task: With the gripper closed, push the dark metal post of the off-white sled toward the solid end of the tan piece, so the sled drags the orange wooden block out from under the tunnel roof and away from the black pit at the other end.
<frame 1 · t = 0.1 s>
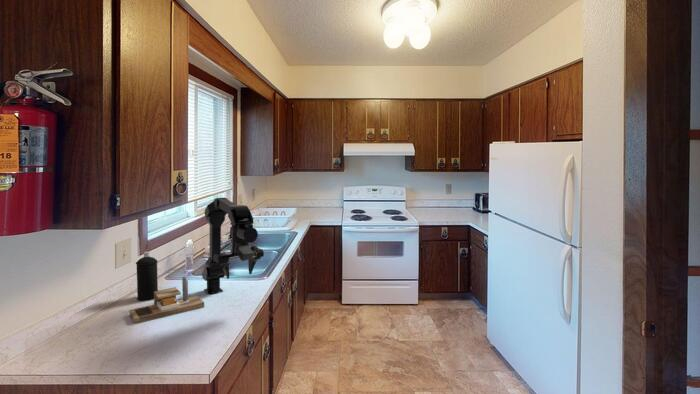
hand: (239, 276, 143), 15 cm above the worktop, tool pointing down, fingers open, 9 cm apart
sled: (173, 292, 144), point 7 cm above the worktop, slide at 0.0 cm
aerosol can: (147, 297, 156), on the worktop
tan piece: (168, 311, 143), on the worktop
block: (168, 306, 143), point 2 cm above the worktop, touching tan piece
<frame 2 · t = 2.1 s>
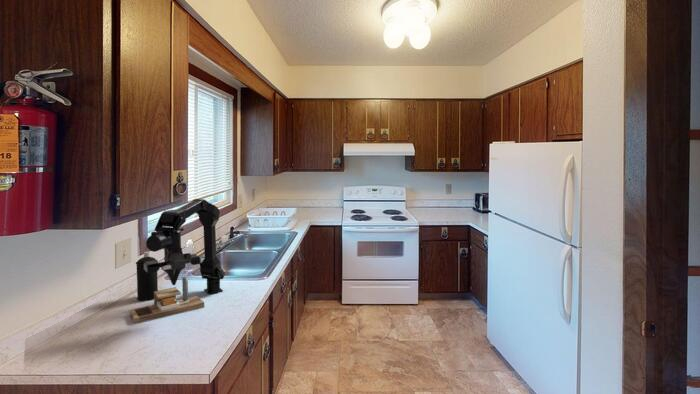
hand: (173, 284, 137), 13 cm above the worktop, tool pointing down, fingers closed
nothing on the worktop moved.
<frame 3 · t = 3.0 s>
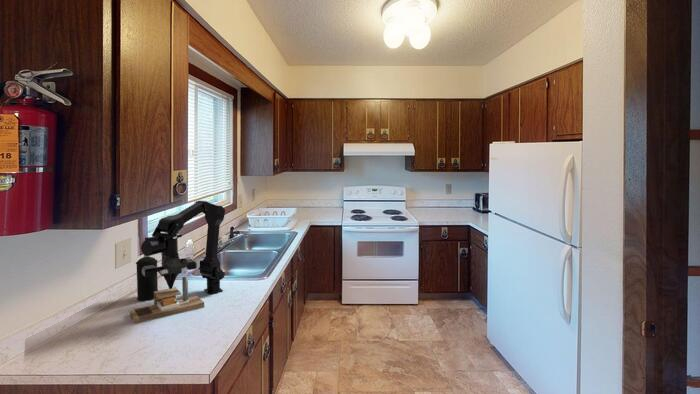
hand: (170, 288, 143), 9 cm above the worktop, tool pointing down, fingers closed
nothing on the worktop moved.
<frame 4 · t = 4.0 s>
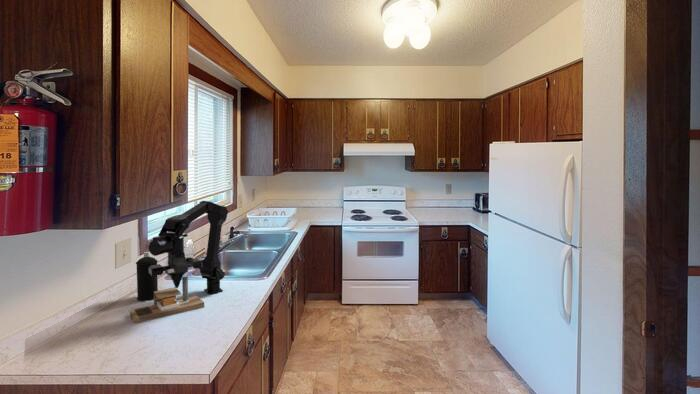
hand: (176, 287, 145), 9 cm above the worktop, tool pointing down, fingers closed
sled: (173, 292, 144), point 7 cm above the worktop, slide at 0.0 cm, touching gripper
everything else where it was.
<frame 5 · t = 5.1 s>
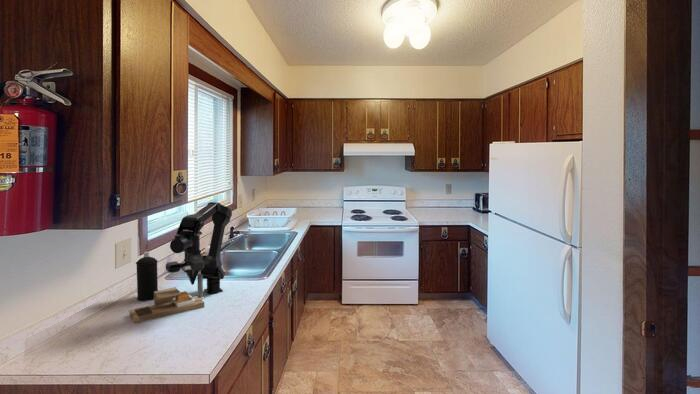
hand: (192, 284, 149), 9 cm above the worktop, tool pointing down, fingers closed
sled: (189, 289, 148), point 7 cm above the worktop, slide at 6.0 cm, touching gripper
block: (182, 303, 147), point 2 cm above the worktop
everything else where it was.
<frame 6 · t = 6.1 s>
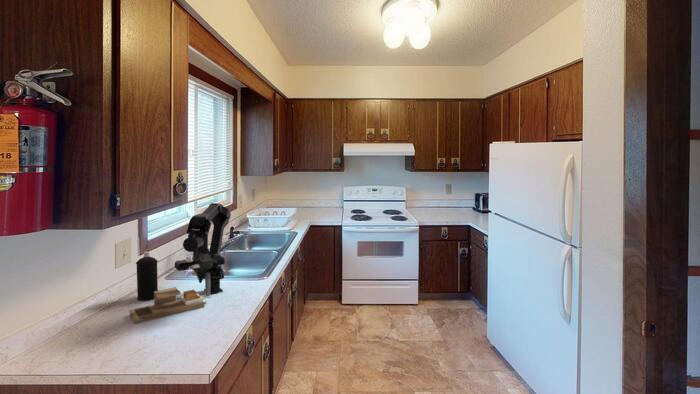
hand: (200, 282, 151), 9 cm above the worktop, tool pointing down, fingers closed
sled: (197, 287, 150), point 7 cm above the worktop, slide at 9.1 cm, touching block, gripper
block: (190, 301, 149), point 2 cm above the worktop, touching tan piece, sled
everything else where it was.
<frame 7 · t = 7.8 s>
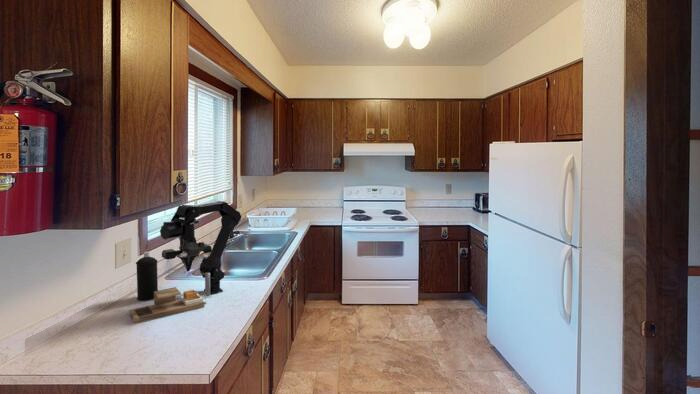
hand: (187, 271, 153), 13 cm above the worktop, tool pointing down, fingers closed
sled: (196, 287, 150), point 7 cm above the worktop, slide at 9.0 cm
block: (190, 301, 149), point 2 cm above the worktop, touching tan piece
everything else where it was.
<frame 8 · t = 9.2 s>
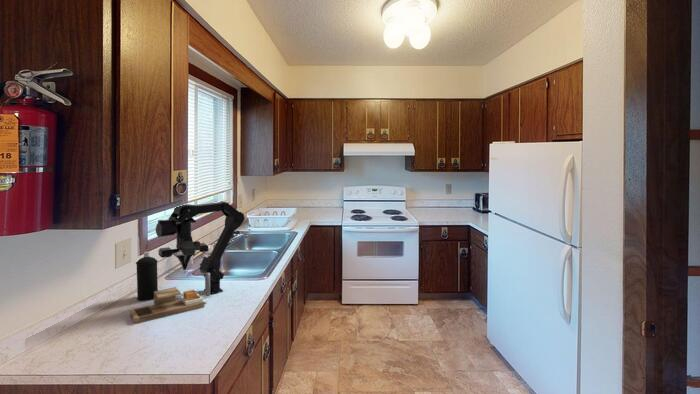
hand: (184, 269, 155), 13 cm above the worktop, tool pointing down, fingers closed
nothing on the worktop moved.
at the end: block 0.8 cm from the target spot, point 2.0 cm above the worktop; sled slide at 9.0 cm; block tilted 0° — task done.
